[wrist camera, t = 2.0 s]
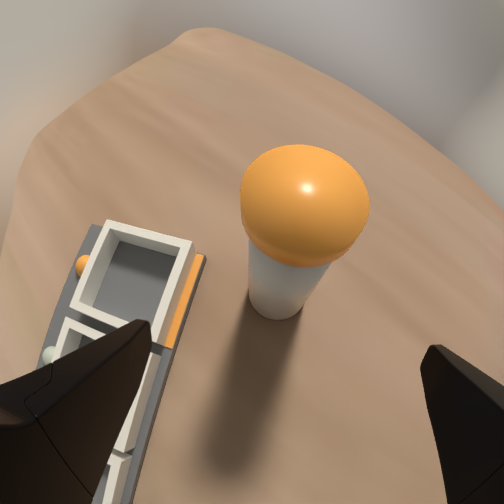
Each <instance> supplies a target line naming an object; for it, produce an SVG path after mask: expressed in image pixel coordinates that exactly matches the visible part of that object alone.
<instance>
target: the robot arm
mask: <svg viewBox="0 0 504 504" xmlns="http://www.w3.org/2000/svg"><path fill="white" fill-rule="evenodd" d="M151 349H152V335H151V326H150V323H149V321H147V320H142V319H135V320H133V321H131V322H129V323H127V324H125V325H123V326H121V327H119V328H118V329H116V330H114V331H112V332H110V333H108V334H106V335H104V336H102V337H100V338H98V339H96V340H94V341H92V342H90V343H88V344H86V345H84V346H82V347H80V348H79V349H77V350H75V351H73V352H71V353H69V354H67V355H65V356H63V357H61V358H59V359H57V360H55V361H53V363H52V362H51V363H49V364H47V365H45V366H43V367H41V368H39V369H37V370H35V371H33V372H31V373H28V374H26V375H24V376H21V377H19V378H16V379H14V380H11V381H9V382H6V383H4V384H1V385H0V504H91V503H92V501H93V498H92V497H94V495H95V493H96V490H97V487H98V485H99V482H100V480H101V477H102V475H103V472H104V470H105V467H106V465H107V462H108V460H109V458H110V455H111V453H112V450H113V448H114V446H115V443H116V441H117V438H118V436H119V434H120V431H121V429H122V427H123V424H124V422H125V420H126V417H127V415H128V413H129V410H130V408H131V406H132V404H133V401H134V399H135V397H136V395H137V392H138V390H139V387H140V384H141V381H142V378H143V375H144V371H145V368H146V365H147V362H148V358H149V355H150V352H151ZM420 372H421V377H422V382H423V387H424V393H425V399H426V405H427V409H428V413H429V417H430V421H431V425H432V429H433V433H434V437H435V441H436V446H437V450H438V455H439V459H440V464H441V469H442V474H443V480H444V485H445V491H446V497H447V504H504V386H503V385H501V384H500V383H498V382H497V381H495V380H494V379H492V378H491V377H489V376H488V375H487V374H485V373H484V372H482V371H481V370H479V369H478V368H476V367H475V366H473V365H472V364H470V363H469V362H467V361H465V360H464V359H462V358H461V357H459V356H458V355H456V354H455V353H453V352H452V351H450V350H449V349H447V348H446V347H444V346H443V345H430V346H429V348H428V350H427V352H426V354H425V356H424V358H423V360H422V363H421V366H420Z"/></svg>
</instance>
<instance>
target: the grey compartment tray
mask: <svg viewBox="0 0 504 504" xmlns="http://www.w3.org/2000/svg"><path fill="white" fill-rule="evenodd" d="M205 262H206V256H205V255H204V254H200V253H197V252H196V251H195V248H194V245H193V243H192V241H188V240H184V239H180V238H176V237H172V236H168V235H165V234H161V233H157V232H153V231H149V230H146V229H142V228H138V227H134V226H130V225H127V224H123V223H119V222H115V221H111V220H108V219H107V220H106V222H105V224H104V226H103V227H101V226H98V225H94V224H92V225H91V227H90V229H89V231H88V233H87V235H86V237H85V239H84V241H83V243H82V246H81V248H80V250H79V252H78V254H77V257H76V259H75V261H74V264H73V266H72V268H71V271H70V273H69V275H68V278H67V280H66V283H65V285H64V288H63V290H62V293H61V295H60V298H59V301H58V303H57V306H56V309H55V311H54V314H53V317H52V320H51V323H50V326H49V329H48V332H47V335H46V338H45V341H44V344H43V347H42V351H41V354H40V357H39V361H38V364H37V368H36V370H37V369H39V368H41V367H43V366H45V365H47V364H49V363H51V362H52V363H53V361H55V360H57V359H59V358H61V357H63V356H65V355H67V354H69V353H71V352H73V351H75V350H77V349H79V348H80V347H82V346H84V345H86V344H88V343H90V342H92V341H94V340H96V339H98V338H100V337H102V336H104V335H106V334H108V333H110V332H112V331H114V330H116V329H118V328H119V327H121V326H123V325H125V324H127V323H129V322H131V321H133V320H135V319H142V320H147V321H149V323H150V326H151V335H152V349H151V352H150V355H149V358H148V362H147V365H146V368H145V371H144V375H143V378H142V381H141V384H140V387H139V390H138V392H137V395H136V397H135V399H134V401H133V404H132V406H131V408H130V410H129V413H128V415H127V417H126V420H125V422H124V424H123V427H122V429H121V431H120V434H119V436H118V438H117V441H116V443H115V446H114V448H113V450H112V453H111V455H110V458H109V460H108V462H107V465H106V467H105V470H104V472H103V475H102V477H101V480H100V482H99V485H98V487H97V490H96V493H95V495H94V497H92V498H93V501H92V503H91V504H132V502H133V498H134V494H135V490H136V486H137V482H138V478H139V475H140V471H141V467H142V463H143V460H144V456H145V452H146V449H147V445H148V442H149V438H150V435H151V431H152V428H153V424H154V421H155V417H156V414H157V410H158V407H159V404H160V400H161V397H162V394H163V390H164V387H165V384H166V380H167V377H168V374H169V371H170V368H171V364H172V361H173V358H174V355H175V352H176V349H177V345H178V342H179V339H180V336H181V333H182V330H183V327H184V324H185V321H186V318H187V315H188V312H189V309H190V306H191V303H192V300H193V297H194V294H195V291H196V288H197V285H198V282H199V279H200V277H201V274H202V271H203V268H204V265H205Z"/></svg>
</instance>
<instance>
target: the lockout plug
mask: <svg viewBox="0 0 504 504" xmlns="http://www.w3.org/2000/svg"><path fill="white" fill-rule="evenodd" d="M240 199H241V218H242V223H243V226H244V228H245V231H246V233H247V235H248V237H249V299H250V302H251V304H252V306H253V307H254V309H255V310H256V311H257V312H258V313H259V314H260V315H262V316H264V317H266V318H268V319H272V320H283V319H287V318H290V317H292V316H293V315H295V314H296V313H297V312H298V311H299V310H300V309H301V307H302V306H303V305H304V303H305V302H306V300H307V299H308V297H309V296H310V294H311V293H312V291H313V290H314V288H315V287H316V285H317V284H318V282H319V281H320V279H321V278H322V276H323V275H324V273H325V272H326V270H327V269H328V267H329V266H330V264H331V263H332V262H333V261H335V260H337V259H338V258H340V257H341V256H342V255H344V254H345V253H346V252H347V251H348V250H349V248H350V247H351V246H352V244H353V243H354V242H355V240H356V239H357V237H358V236H359V234H360V233H361V231H362V230H363V228H364V226H365V224H366V221H367V218H368V214H369V198H368V193H367V190H366V187H365V185H364V183H363V181H362V179H361V178H360V176H359V175H358V173H357V172H356V171H355V170H354V169H353V168H352V167H351V166H350V165H349V164H348V163H347V162H346V161H345V160H343V159H342V158H340V157H339V156H337V155H335V154H333V153H332V152H329V151H327V150H324V149H321V148H318V147H314V146H309V145H286V146H281V147H277V148H274V149H272V150H269V151H267V152H265V153H264V154H262V155H260V156H259V157H258V158H257V159H255V160H254V161H253V162H252V164H251V165H250V166H249V167H248V169H247V170H246V172H245V174H244V176H243V179H242V182H241V189H240Z"/></svg>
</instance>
